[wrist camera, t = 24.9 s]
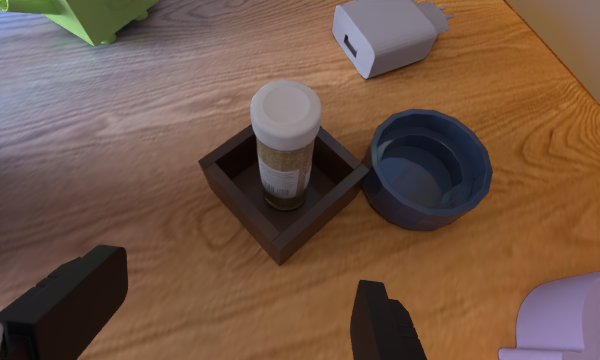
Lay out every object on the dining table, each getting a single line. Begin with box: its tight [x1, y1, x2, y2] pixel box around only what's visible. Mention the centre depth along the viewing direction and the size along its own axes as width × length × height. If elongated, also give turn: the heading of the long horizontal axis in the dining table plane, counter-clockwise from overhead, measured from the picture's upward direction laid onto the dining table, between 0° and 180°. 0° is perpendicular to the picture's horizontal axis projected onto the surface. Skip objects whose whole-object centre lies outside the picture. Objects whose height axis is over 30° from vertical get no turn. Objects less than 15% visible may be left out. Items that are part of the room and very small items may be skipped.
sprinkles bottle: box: [250, 80, 322, 211], centre depth 26 cm, size 5×5×14 cm
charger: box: [332, 0, 453, 79], centre depth 42 cm, size 5×9×15 cm
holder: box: [198, 124, 370, 266], centre depth 31 cm, size 10×10×6 cm
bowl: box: [361, 109, 493, 231], centre depth 32 cm, size 11×11×5 cm
